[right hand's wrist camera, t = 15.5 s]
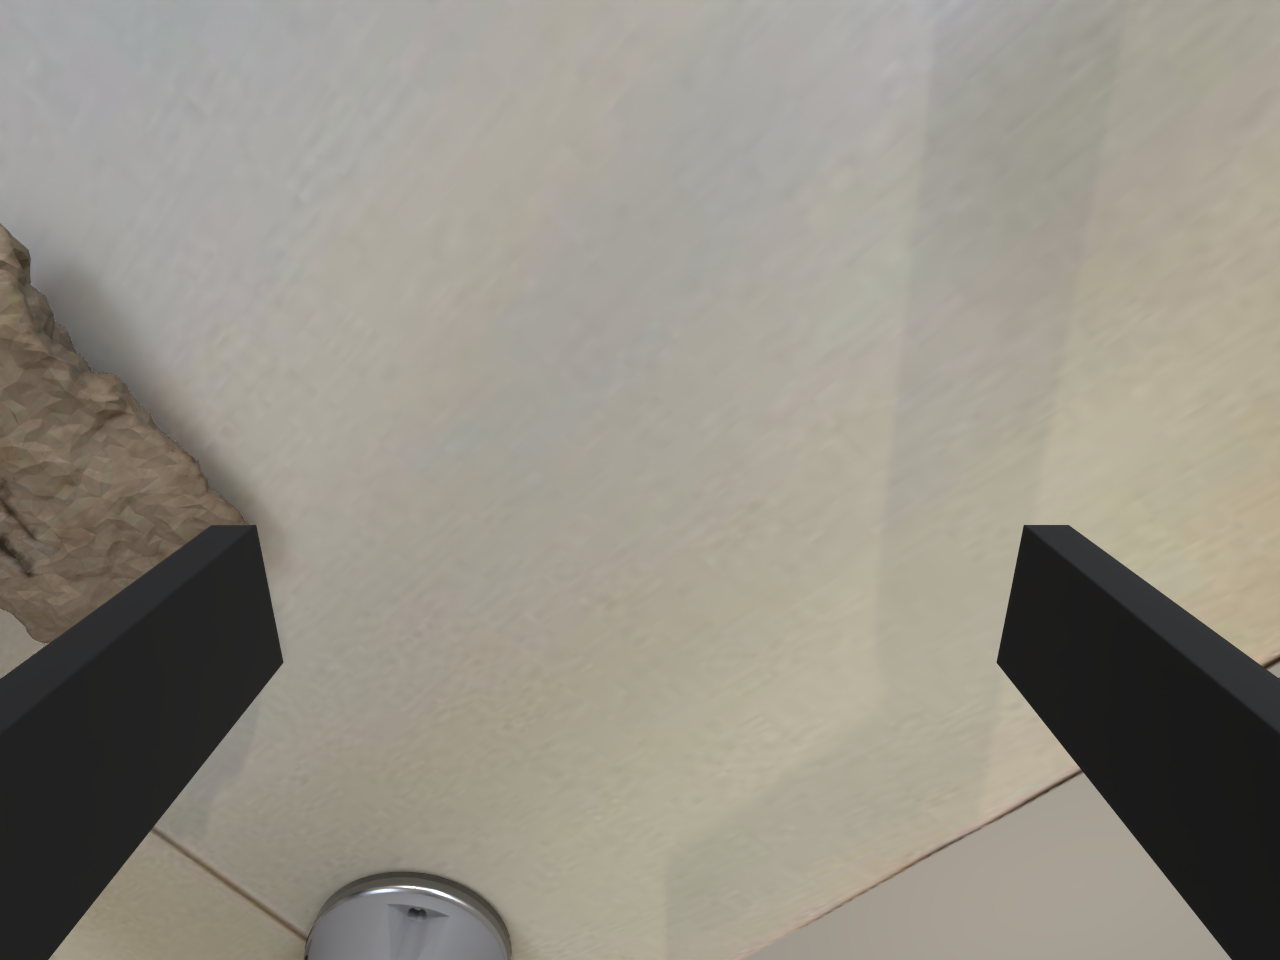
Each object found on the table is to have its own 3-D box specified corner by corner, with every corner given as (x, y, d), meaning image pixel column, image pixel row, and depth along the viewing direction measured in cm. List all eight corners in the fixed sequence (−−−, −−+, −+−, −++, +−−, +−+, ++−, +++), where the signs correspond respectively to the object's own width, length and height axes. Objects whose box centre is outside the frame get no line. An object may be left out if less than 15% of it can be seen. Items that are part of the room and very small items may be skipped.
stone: (-243, 354, 38) (-352, 383, 32) (15, 209, 38) (-50, 214, 33) (82, 630, 47) (40, 688, 42) (283, 510, 48) (266, 552, 43)
